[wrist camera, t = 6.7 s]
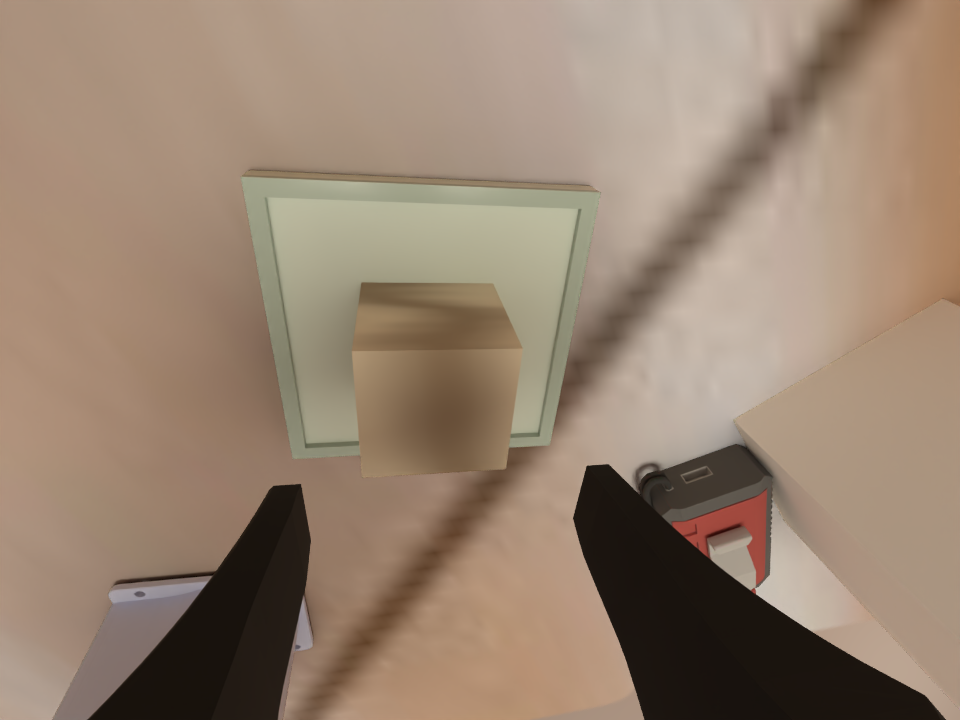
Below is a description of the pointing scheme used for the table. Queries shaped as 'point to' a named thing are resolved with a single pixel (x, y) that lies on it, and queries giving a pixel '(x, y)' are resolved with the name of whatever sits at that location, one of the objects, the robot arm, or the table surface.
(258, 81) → the table surface
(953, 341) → the milk
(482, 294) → the beech cube
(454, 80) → the table surface
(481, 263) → the sage tile
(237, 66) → the table surface
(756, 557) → the walkie-talkie
